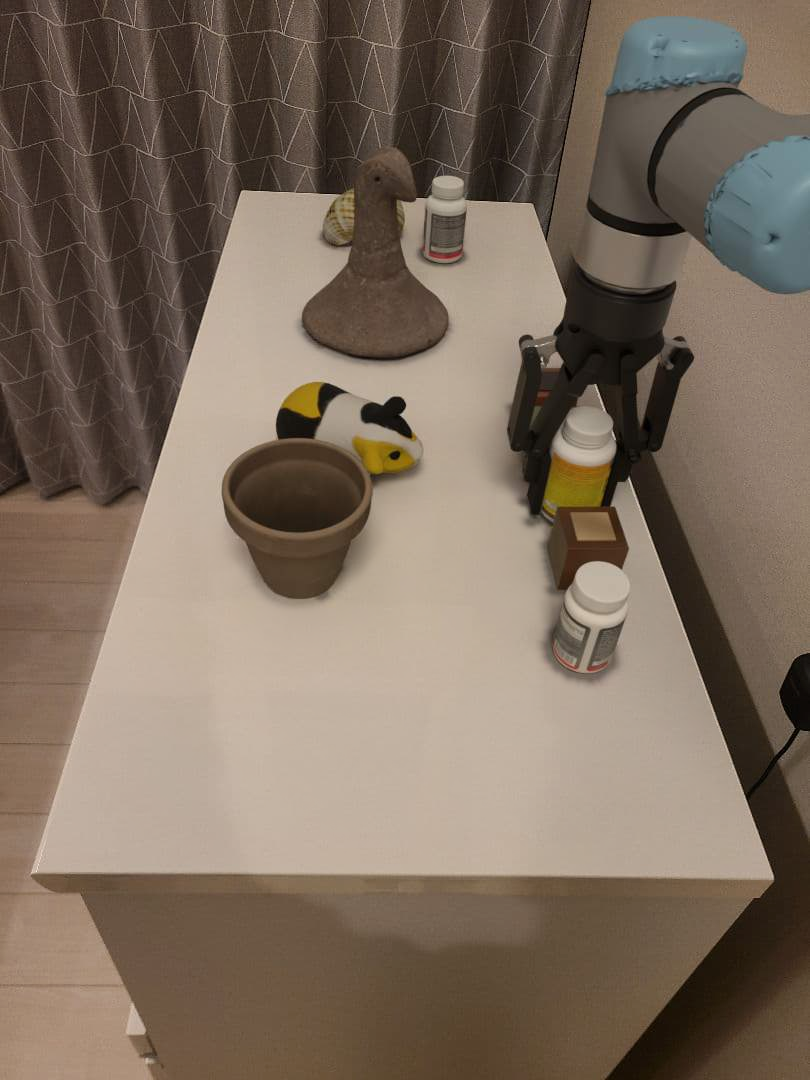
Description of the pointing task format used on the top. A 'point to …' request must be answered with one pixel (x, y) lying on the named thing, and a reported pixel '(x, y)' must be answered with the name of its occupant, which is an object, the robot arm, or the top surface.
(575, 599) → the pill bottle
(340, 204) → the seashell
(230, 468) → the flower pot
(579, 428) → the supplement bottle
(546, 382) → the block end
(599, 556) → the block near
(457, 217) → the pill bottle
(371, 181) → the sculpture
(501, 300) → the top surface
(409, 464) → the figurine
